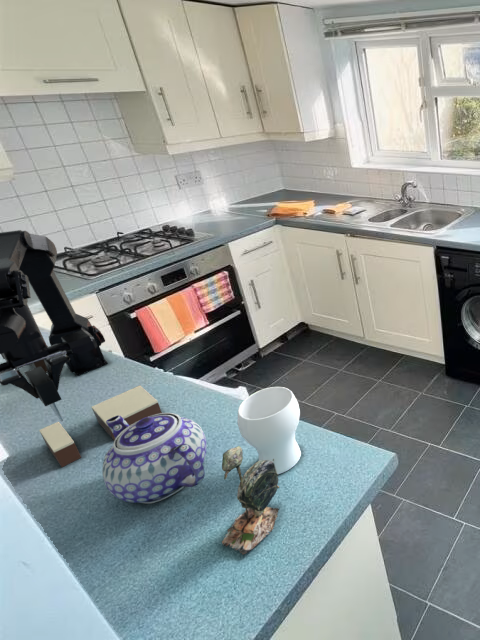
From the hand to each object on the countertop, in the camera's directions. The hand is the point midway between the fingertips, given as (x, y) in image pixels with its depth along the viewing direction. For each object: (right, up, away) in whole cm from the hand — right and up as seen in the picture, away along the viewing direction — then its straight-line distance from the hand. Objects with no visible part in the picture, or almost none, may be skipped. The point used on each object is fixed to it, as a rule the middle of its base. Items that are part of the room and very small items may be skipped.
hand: (47, 393), depth 87 cm
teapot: (+28, -16, -4) cm, 33 cm away
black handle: (0, -5, +2) cm, 6 cm away
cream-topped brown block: (+2, -13, +2) cm, 13 cm away
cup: (+48, -14, +1) cm, 50 cm away
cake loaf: (+8, -9, +11) cm, 16 cm away
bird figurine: (+51, -19, -12) cm, 56 cm away
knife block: (-33, -2, +29) cm, 44 cm away
